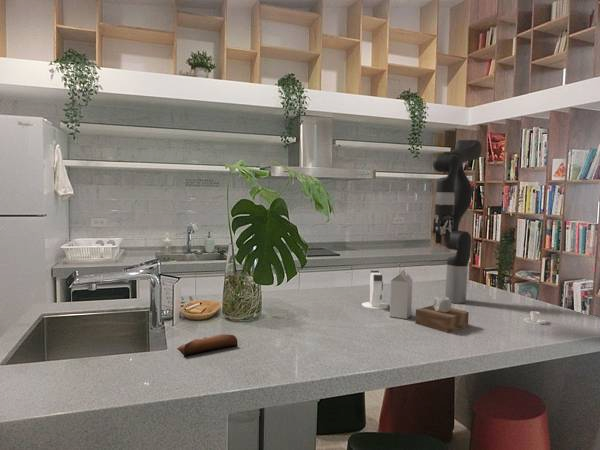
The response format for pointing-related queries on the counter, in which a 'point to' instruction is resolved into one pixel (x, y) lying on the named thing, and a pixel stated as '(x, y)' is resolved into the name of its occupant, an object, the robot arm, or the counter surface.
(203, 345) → the sunglasses case
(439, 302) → the die
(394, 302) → the milk carton
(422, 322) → the walnut block
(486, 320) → the counter surface
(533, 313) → the teacup and saucer
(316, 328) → the counter surface
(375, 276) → the white device on stand
